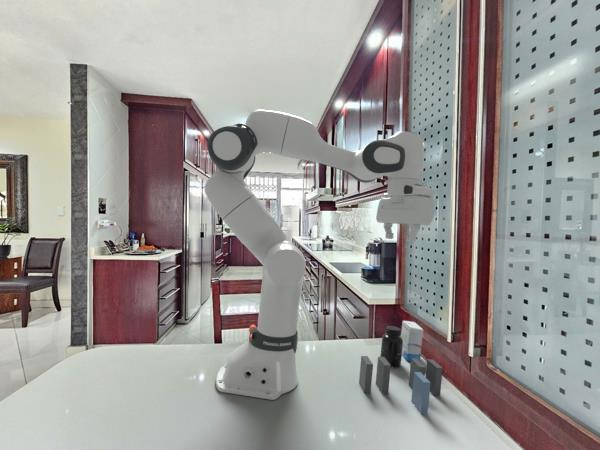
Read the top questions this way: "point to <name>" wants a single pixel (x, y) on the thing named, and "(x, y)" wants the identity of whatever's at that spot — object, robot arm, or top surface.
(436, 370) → the domino
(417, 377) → the domino
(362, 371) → the domino
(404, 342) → the ink box
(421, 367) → the domino
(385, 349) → the supplement bottle
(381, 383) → the domino
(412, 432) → the top surface
